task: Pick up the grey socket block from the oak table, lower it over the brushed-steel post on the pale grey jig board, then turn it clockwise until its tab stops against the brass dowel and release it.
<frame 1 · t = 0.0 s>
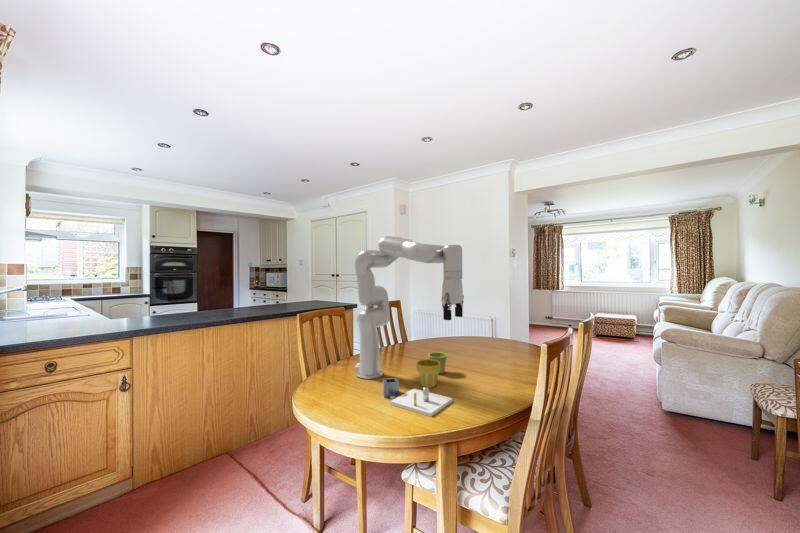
hand: (453, 318, 133), 31 cm above the table, fingers open, 9 cm apart
plant pot 2: (438, 372, 163), on the table
brass dowel: (415, 408, 122), resting on jig board
grey socket block: (392, 398, 131), on the table
steel post: (426, 404, 126), resting on jig board
plant pot: (428, 385, 146), on the table
jig board: (421, 402, 127), on the table
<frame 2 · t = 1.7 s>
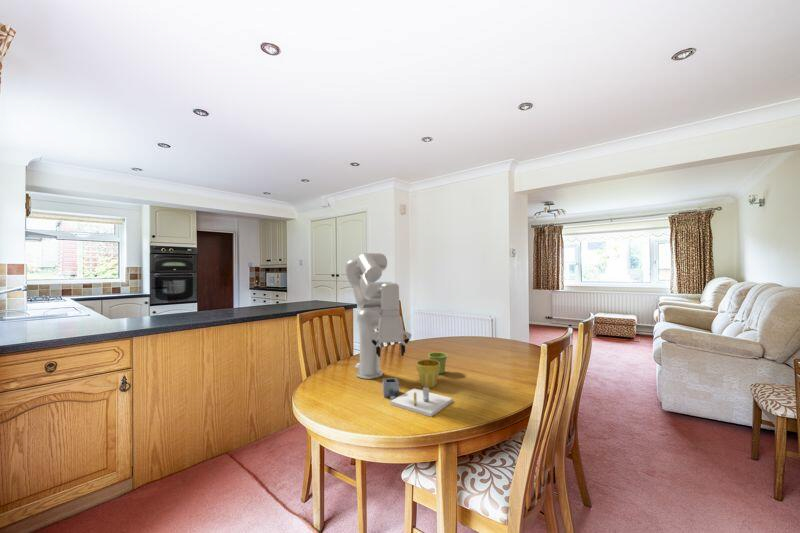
hand: (390, 355, 136), 16 cm above the table, fingers open, 9 cm apart
nothing on the table moved.
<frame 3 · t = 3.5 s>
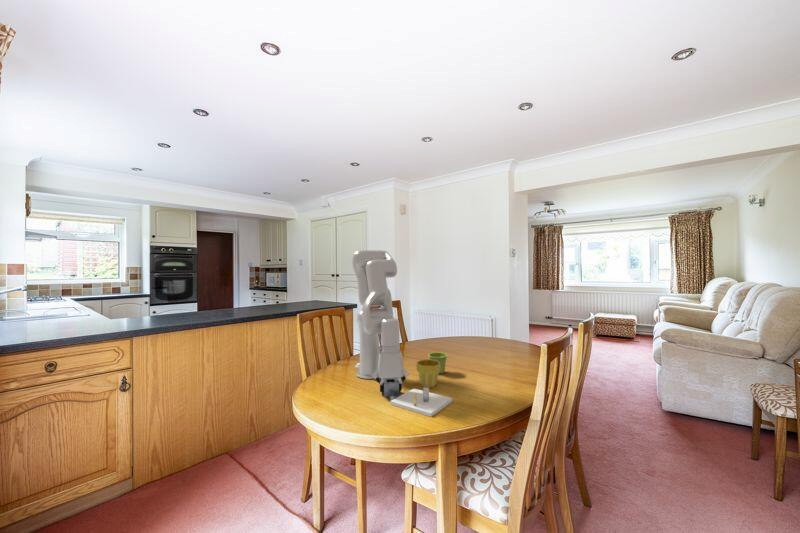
hand: (390, 392, 136), 1 cm above the table, fingers closed on grey socket block, 6 cm apart
grey socket block: (392, 398, 131), on the table, touching gripper
everything else where it was.
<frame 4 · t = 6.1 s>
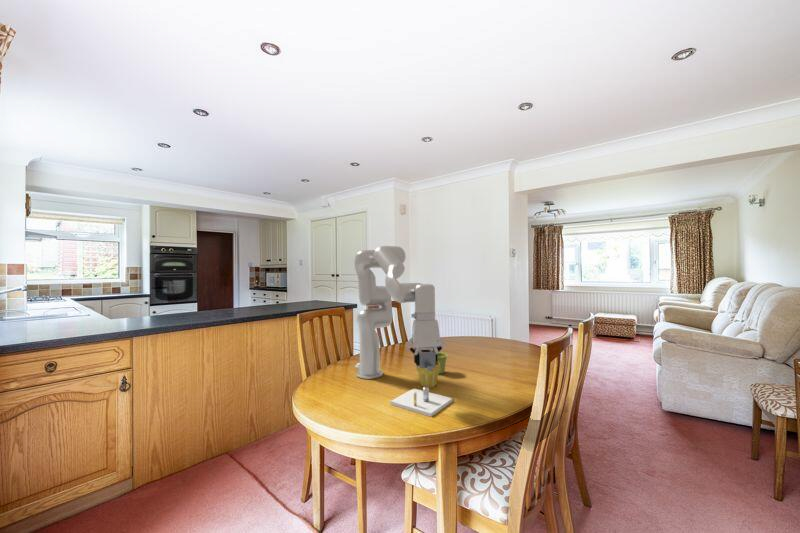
hand: (425, 363, 126), 15 cm above the table, fingers closed on grey socket block, 6 cm apart
grey socket block: (429, 369, 121), point 15 cm above the table, touching gripper
everything else where it was.
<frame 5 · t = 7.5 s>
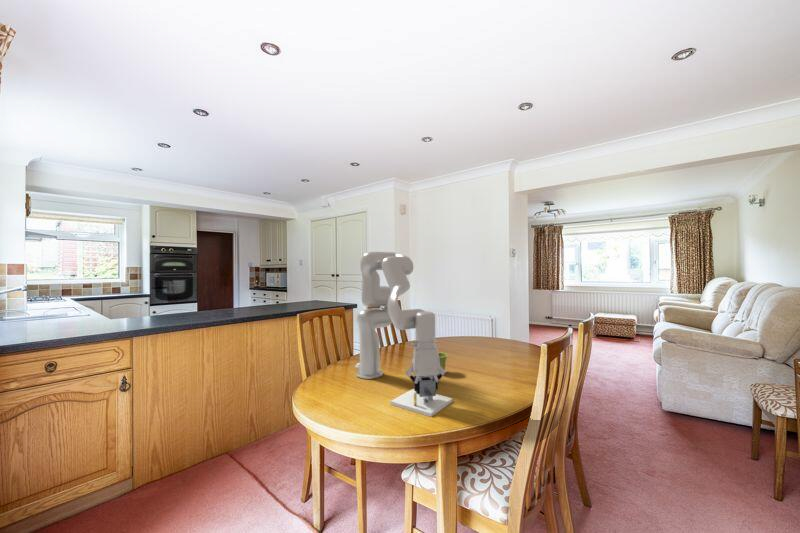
hand: (425, 391, 126), 5 cm above the table, fingers closed on grey socket block, 6 cm apart
grey socket block: (429, 398, 121), point 4 cm above the table, touching gripper
everything else where it was.
when the fingers open (2 cm above the table, at t = 8.7 s): grey socket block stays where it is, resting on jig board.
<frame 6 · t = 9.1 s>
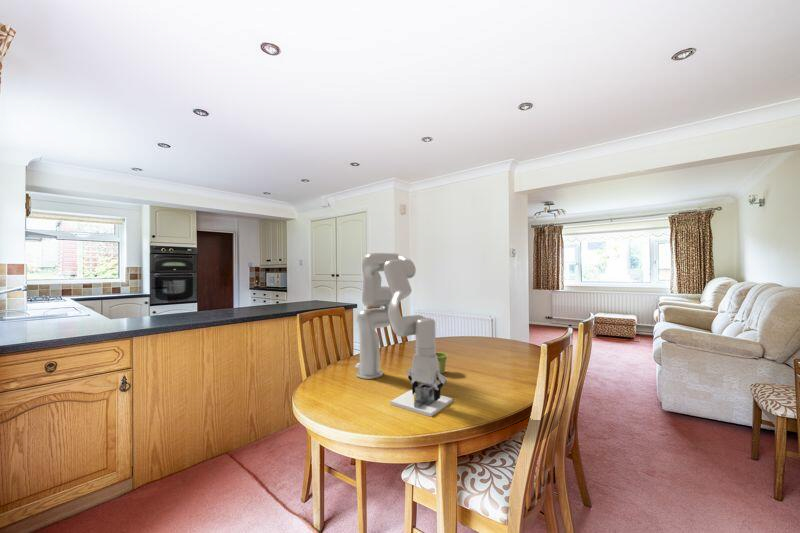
hand: (426, 396, 126), 3 cm above the table, fingers open, 9 cm apart
grey socket block: (419, 405, 122), point 1 cm above the table, touching jig board
everything else where it was.
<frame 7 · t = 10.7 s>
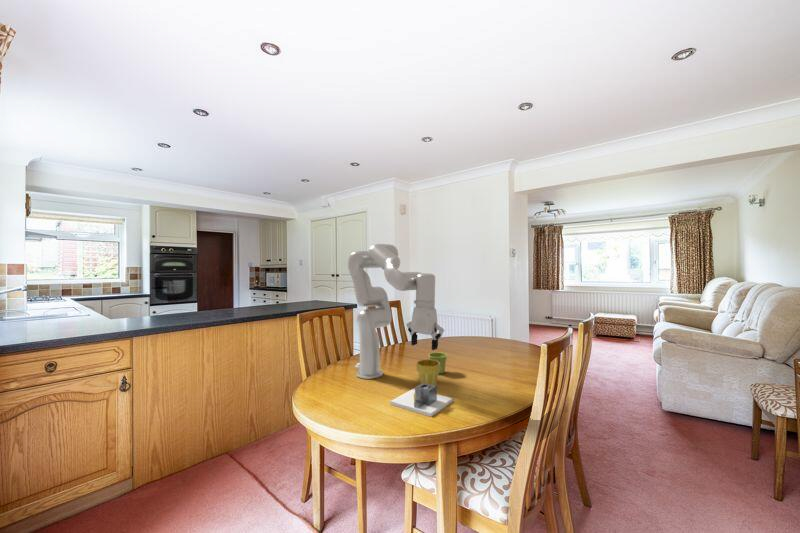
hand: (424, 346, 133), 20 cm above the table, fingers open, 9 cm apart
nothing on the table moved.
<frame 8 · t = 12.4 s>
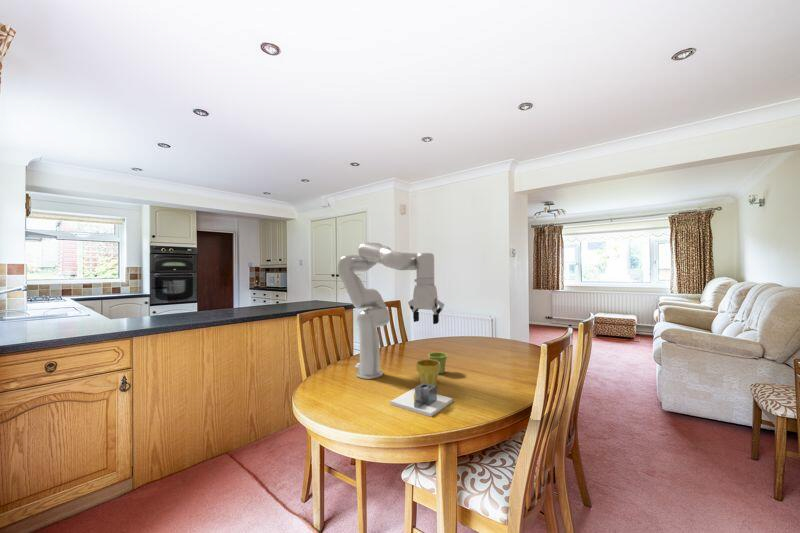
hand: (425, 322, 141), 28 cm above the table, fingers open, 9 cm apart
nothing on the table moved.
at the end: grey socket block 0.3 cm from the target spot, point 1.2 cm above the table; grey socket block 1.5 cm from the brass dowel (horizontally); grey socket block point 1.2 cm above the table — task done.
